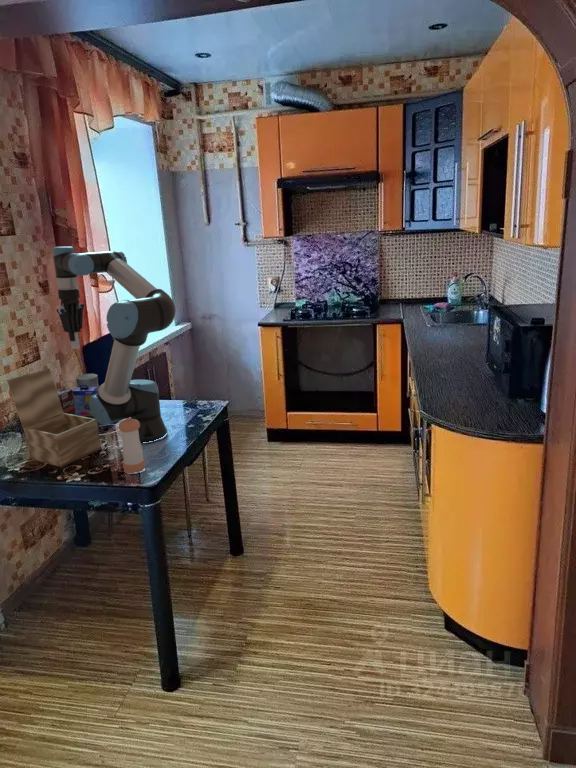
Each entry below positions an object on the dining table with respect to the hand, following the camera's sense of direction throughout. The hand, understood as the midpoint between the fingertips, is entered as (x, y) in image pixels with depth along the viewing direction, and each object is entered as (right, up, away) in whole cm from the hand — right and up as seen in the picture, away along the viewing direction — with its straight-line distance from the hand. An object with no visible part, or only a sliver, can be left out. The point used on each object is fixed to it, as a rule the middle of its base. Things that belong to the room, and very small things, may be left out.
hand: (75, 348), depth 218 cm
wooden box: (0, -40, -11) cm, 41 cm away
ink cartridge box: (-7, -28, +33) cm, 44 cm away
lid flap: (-10, -19, -11) cm, 24 cm away
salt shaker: (+31, -44, -27) cm, 60 cm away
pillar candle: (-11, -24, +48) cm, 55 cm away
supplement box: (-10, -33, +17) cm, 38 cm away
